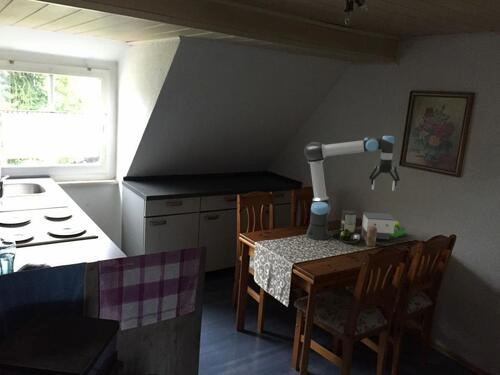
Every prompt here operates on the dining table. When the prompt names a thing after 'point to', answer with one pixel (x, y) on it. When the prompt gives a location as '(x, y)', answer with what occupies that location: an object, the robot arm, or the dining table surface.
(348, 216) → the clear glass jar
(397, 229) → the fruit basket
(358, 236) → the steel puck
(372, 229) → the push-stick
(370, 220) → the cabinet
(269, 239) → the dining table surface
